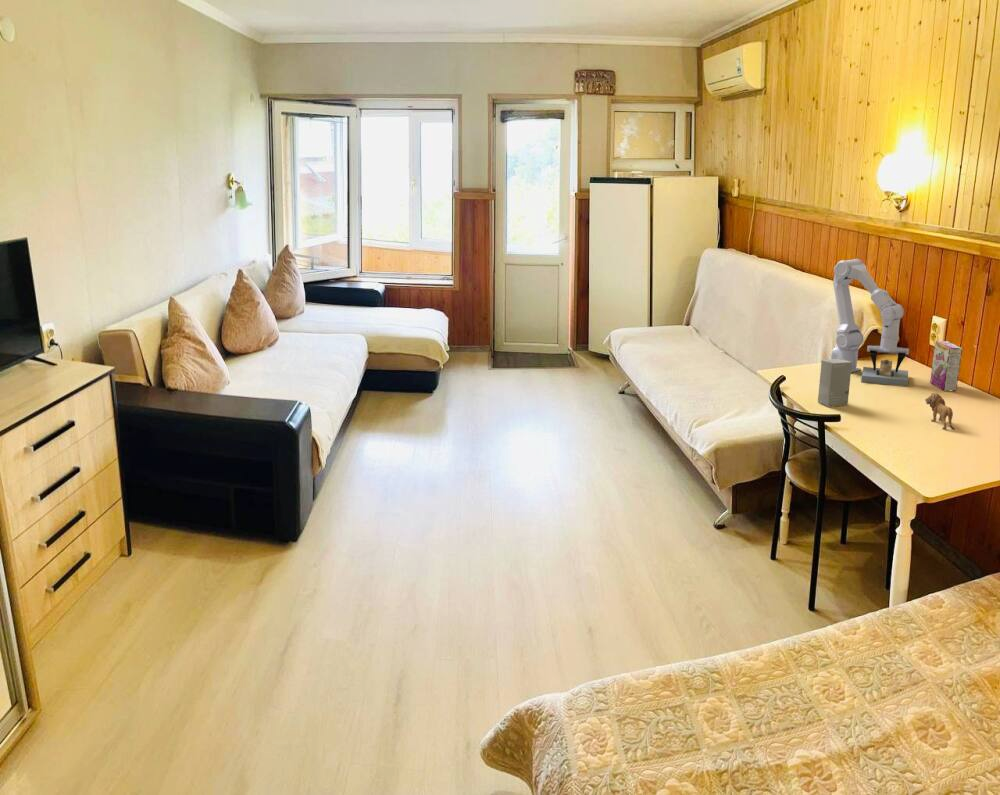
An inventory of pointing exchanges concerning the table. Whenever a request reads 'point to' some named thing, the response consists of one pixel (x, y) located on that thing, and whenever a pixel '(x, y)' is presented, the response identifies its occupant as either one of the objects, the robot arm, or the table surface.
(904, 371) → the socket plate
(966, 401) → the table surface
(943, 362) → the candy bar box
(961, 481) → the table surface
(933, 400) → the lion figurine
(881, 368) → the keyed plug
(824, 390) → the skincare box
